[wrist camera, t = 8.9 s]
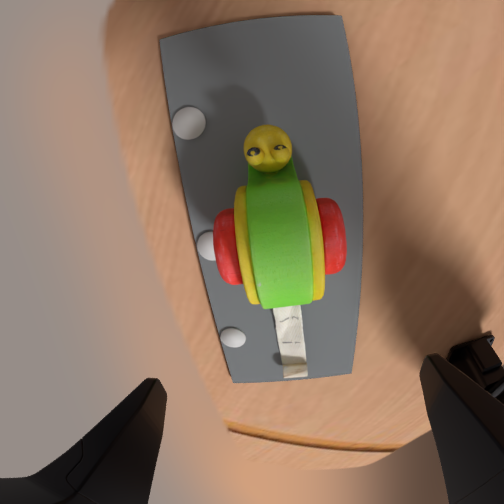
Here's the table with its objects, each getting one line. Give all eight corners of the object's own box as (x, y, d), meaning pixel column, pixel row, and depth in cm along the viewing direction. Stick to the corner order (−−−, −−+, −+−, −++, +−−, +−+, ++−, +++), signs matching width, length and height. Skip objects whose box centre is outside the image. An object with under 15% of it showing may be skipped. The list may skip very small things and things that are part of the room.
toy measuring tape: (320, 119, 15) (350, 118, 9) (329, 364, 23) (340, 426, 17) (211, 132, 16) (176, 141, 10) (257, 370, 24) (253, 433, 18)
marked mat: (350, 368, 24) (351, 374, 24) (233, 378, 26) (233, 384, 25) (339, 18, 12) (342, 14, 12) (162, 41, 14) (158, 38, 13)
